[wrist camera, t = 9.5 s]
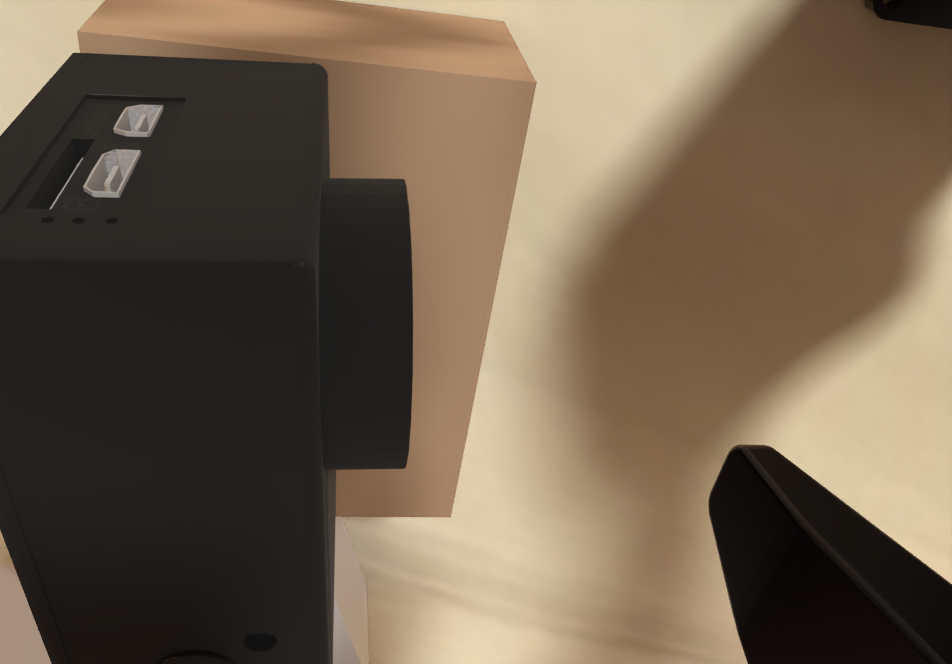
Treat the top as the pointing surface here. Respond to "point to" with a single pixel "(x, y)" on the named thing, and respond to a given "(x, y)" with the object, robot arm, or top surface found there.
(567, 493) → the top surface
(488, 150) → the light brown rectangular block
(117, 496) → the digital camera
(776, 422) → the top surface
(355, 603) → the grey block
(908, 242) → the top surface
